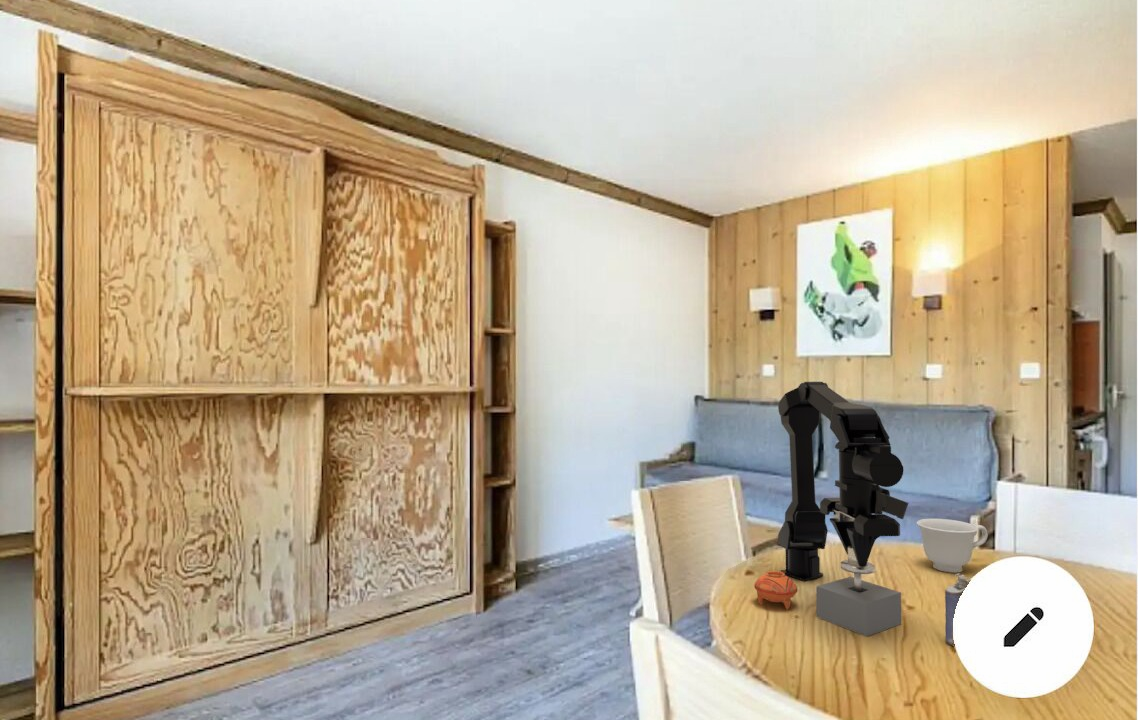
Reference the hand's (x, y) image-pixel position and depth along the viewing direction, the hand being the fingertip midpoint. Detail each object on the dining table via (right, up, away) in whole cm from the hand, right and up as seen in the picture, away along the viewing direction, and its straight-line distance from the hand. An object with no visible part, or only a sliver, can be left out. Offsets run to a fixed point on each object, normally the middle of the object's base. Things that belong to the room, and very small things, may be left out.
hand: (857, 563), depth 112 cm
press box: (0, -10, 0) cm, 10 cm away
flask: (+14, -10, -8) cm, 19 cm away
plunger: (0, -8, 0) cm, 8 cm away
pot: (-12, -11, +8) cm, 18 cm away
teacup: (+35, -11, +29) cm, 47 cm away
